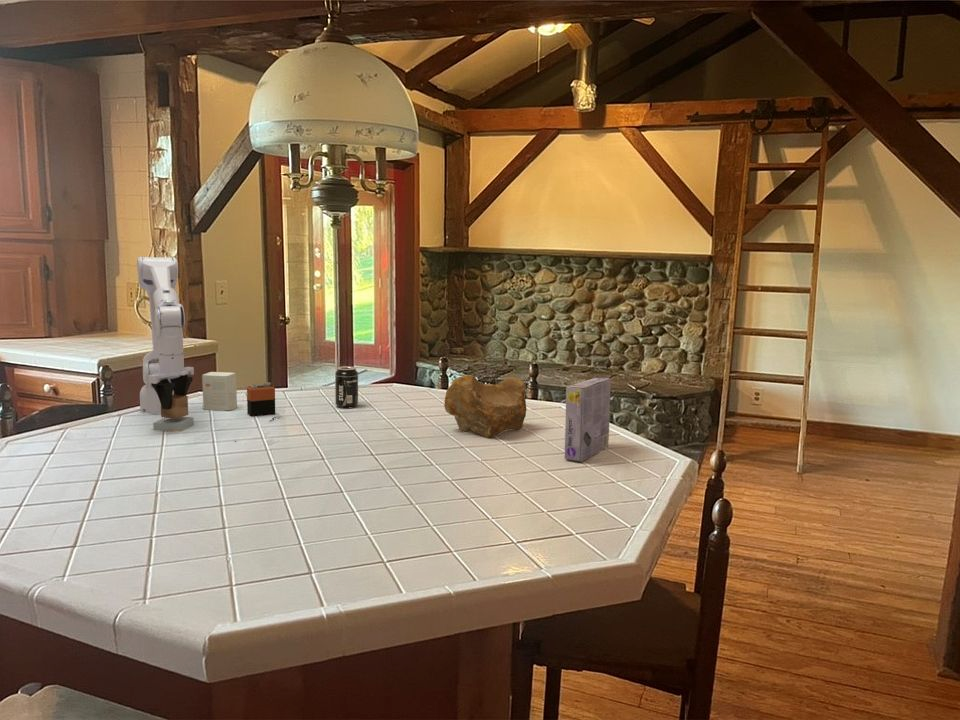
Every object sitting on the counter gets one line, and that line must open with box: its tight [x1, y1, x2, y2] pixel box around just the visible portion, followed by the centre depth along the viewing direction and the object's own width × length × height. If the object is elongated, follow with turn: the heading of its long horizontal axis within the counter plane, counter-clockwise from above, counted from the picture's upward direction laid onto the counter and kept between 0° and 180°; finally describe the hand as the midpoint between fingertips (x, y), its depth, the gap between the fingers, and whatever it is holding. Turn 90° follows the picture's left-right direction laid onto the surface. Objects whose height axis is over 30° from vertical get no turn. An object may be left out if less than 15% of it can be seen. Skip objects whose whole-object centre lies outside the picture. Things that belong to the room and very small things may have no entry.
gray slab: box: [152, 416, 195, 433], centre depth 180 cm, size 7×7×2 cm
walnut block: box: [160, 394, 189, 419], centre depth 179 cm, size 4×4×5 cm
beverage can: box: [334, 365, 359, 409], centre depth 215 cm, size 7×7×12 cm
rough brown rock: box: [444, 374, 527, 439], centre depth 188 cm, size 23×17×15 cm
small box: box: [201, 371, 238, 411], centre depth 208 cm, size 8×6×10 cm
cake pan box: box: [564, 377, 612, 463], centre depth 170 cm, size 19×5×18 cm, turn 149°
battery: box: [246, 382, 276, 420], centre depth 196 cm, size 4×7×10 cm, turn 122°
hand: (173, 406), depth 179 cm, fingers closed on walnut block, 4 cm apart
